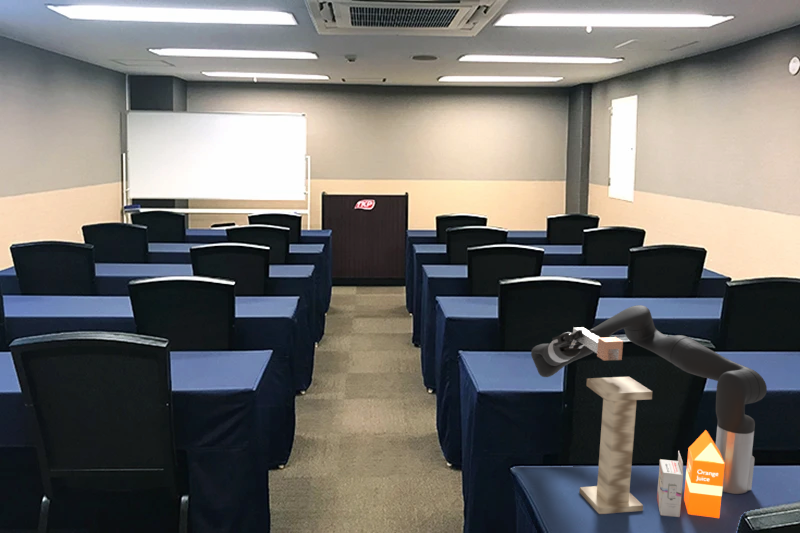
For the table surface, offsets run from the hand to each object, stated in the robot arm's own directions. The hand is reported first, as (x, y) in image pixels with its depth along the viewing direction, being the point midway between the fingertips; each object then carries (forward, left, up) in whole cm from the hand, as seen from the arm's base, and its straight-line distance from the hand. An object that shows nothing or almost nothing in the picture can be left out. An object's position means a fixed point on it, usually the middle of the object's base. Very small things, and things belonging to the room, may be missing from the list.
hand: (587, 333), depth 212 cm
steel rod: (0, +5, -3) cm, 6 cm away
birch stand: (0, +20, -40) cm, 45 cm away
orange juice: (-22, +27, -41) cm, 54 cm away
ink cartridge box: (-13, +26, -41) cm, 50 cm away
